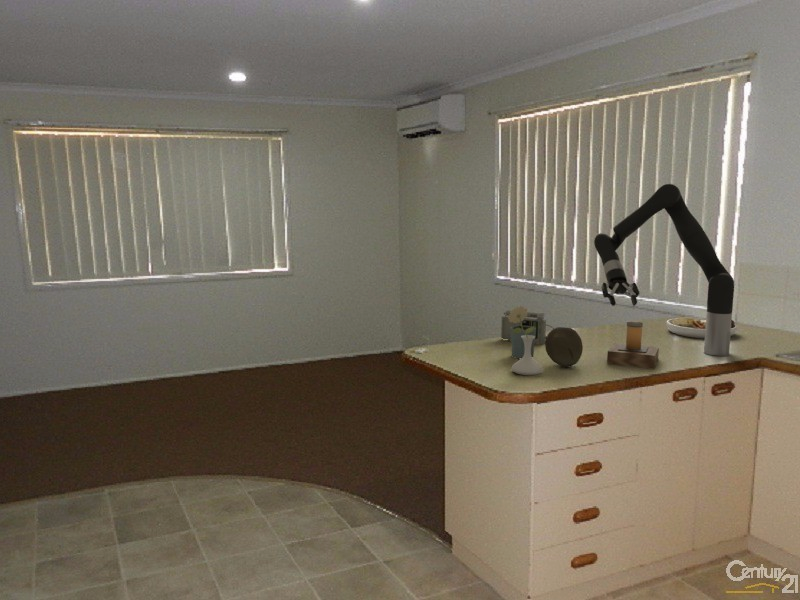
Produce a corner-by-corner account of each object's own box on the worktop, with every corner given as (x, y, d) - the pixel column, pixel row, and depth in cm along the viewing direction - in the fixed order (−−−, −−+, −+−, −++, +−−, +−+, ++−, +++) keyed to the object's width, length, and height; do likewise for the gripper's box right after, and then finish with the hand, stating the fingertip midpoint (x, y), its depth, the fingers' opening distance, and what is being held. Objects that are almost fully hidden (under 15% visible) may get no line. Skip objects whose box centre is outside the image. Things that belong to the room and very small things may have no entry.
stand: (658, 359, 249) (658, 346, 248) (654, 368, 234) (655, 354, 234) (613, 354, 256) (613, 341, 255) (607, 363, 242) (607, 350, 241)
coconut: (586, 364, 241) (587, 326, 239) (576, 372, 229) (578, 332, 227) (550, 359, 248) (551, 322, 246) (538, 367, 236) (540, 328, 234)
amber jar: (642, 347, 246) (643, 322, 244) (640, 350, 241) (641, 324, 239) (626, 345, 249) (627, 320, 247) (624, 348, 243) (625, 323, 242)
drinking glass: (516, 360, 248) (517, 330, 246) (505, 354, 257) (506, 325, 256) (539, 358, 250) (540, 329, 249) (527, 352, 260) (528, 324, 258)
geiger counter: (500, 310, 282) (556, 314, 270) (504, 308, 287) (559, 312, 276) (499, 340, 284) (554, 346, 272) (504, 337, 289) (558, 343, 278)
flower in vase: (538, 369, 234) (540, 303, 230) (546, 377, 223) (549, 308, 219) (503, 369, 234) (505, 303, 230) (510, 378, 222) (511, 308, 219)
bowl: (669, 338, 289) (670, 321, 288) (663, 326, 317) (664, 310, 316) (742, 342, 280) (743, 325, 279) (729, 329, 309) (730, 313, 307)
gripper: (600, 267, 259) (610, 299, 249) (634, 267, 260) (645, 299, 250) (595, 278, 265) (604, 310, 255) (628, 278, 266) (638, 309, 256)
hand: (624, 304), depth 253 cm, fingers open, 8 cm apart
